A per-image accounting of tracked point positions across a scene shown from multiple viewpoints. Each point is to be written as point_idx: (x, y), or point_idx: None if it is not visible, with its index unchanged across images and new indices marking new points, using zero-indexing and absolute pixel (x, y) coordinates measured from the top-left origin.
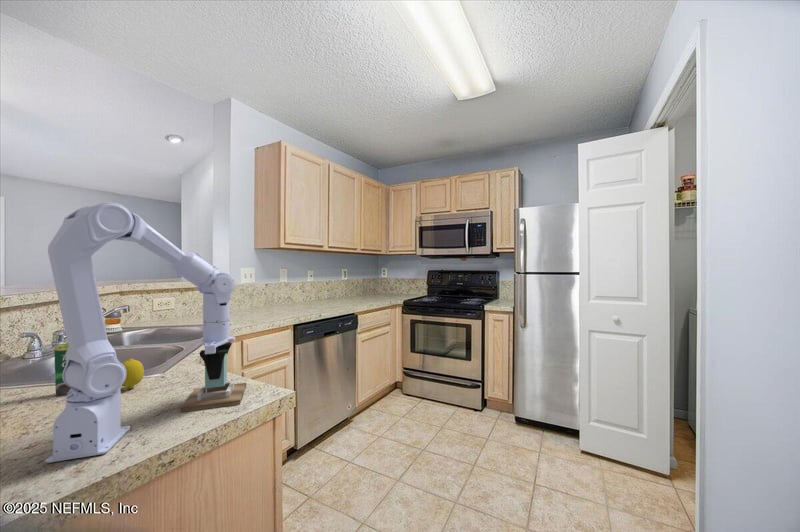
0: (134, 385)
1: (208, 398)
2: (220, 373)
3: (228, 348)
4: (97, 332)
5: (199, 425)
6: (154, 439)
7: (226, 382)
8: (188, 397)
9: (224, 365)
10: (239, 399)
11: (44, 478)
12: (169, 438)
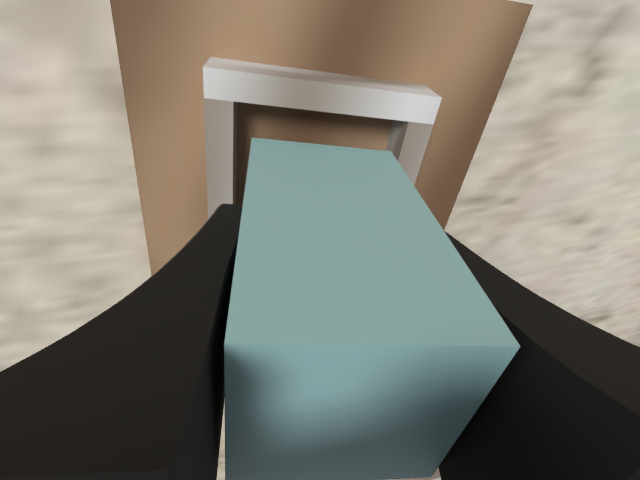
0: None
1: None
2: (449, 235)
3: (192, 417)
4: None
5: (615, 197)
6: (595, 303)
7: (207, 131)
8: None
9: (416, 248)
10: (518, 10)
11: None
12: (630, 269)
